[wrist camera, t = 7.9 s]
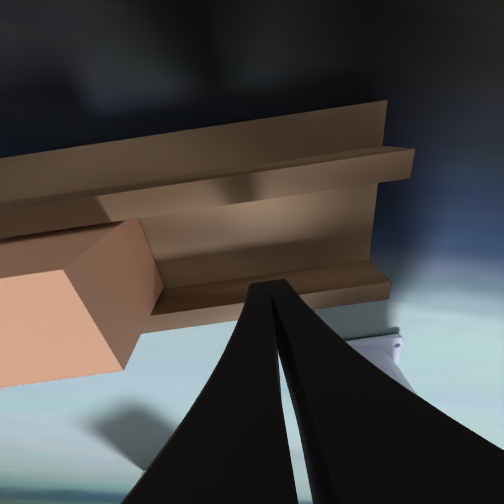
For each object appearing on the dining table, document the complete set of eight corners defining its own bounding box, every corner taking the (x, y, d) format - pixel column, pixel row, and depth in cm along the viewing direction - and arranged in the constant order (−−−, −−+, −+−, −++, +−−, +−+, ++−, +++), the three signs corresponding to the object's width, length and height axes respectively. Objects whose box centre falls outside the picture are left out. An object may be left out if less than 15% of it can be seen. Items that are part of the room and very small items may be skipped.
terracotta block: (164, 285, 15) (123, 370, 10) (72, 299, 15) (-17, 390, 10) (135, 211, 13) (62, 269, 7) (28, 227, 13) (-121, 295, 7)
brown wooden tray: (358, 290, 17) (399, 344, 13) (70, 330, 18) (14, 397, 13) (376, 102, 12) (458, 84, 7) (-43, 165, 12) (-203, 184, 8)
